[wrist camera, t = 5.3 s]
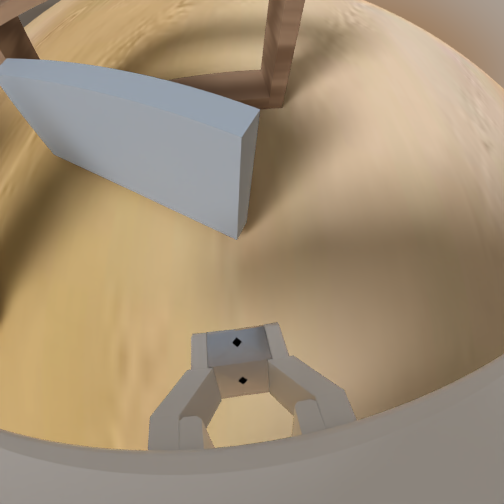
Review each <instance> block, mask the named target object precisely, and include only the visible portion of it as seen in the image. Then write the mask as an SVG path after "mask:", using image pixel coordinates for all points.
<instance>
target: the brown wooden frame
mask: <svg viewBox="0 0 504 504" xmlns="http://www.w3.org/2000/svg"><path fill="white" fill-rule="evenodd" d="M45 1H48V0H0V65H1V64H2V63H3V62H4V61H5V60H6V59H7V58H12V59H37V60H40V59H39V57H38V55H37V53H36V51H35V49H34V48H33V46H32V44H31V42H30V40H29V38H28V36H27V34H26V32H25V30H24V28H23V26H22V24H21V22H20V20H19V18H18V15H20V14H21V13H23V12H25V11H27V10H29V9H31V8H33V7H35V6H37V5H39V4H41V3H43V2H45ZM304 2H305V0H269V5H268V14H267V22H266V30H265V39H264V47H263V56H262V65H261V70H249V71H235V72H224V73H214V74H206V75H198V76H191V77H184V78H178V79H172V80H167V81H171V82H175V83H179V84H183V85H186V86H190V87H193V88H197V89H200V90H204V91H207V92H210V93H213V94H217V95H220V96H223V97H226V98H229V99H232V100H235V101H238V102H241V103H244V104H246V105H249V106H252V107H255V108H257V109H266V108H282V106H283V101H284V96H285V92H286V87H287V82H288V77H289V73H290V68H291V63H292V59H293V54H294V49H295V45H296V40H297V35H298V31H299V26H300V21H301V16H302V12H303V7H304Z"/></svg>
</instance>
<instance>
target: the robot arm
mask: <svg viewBox="0 0 504 504" xmlns="http://www.w3.org/2000/svg"><path fill="white" fill-rule="evenodd" d="M266 392H270V394H271V395H272V396H273V397H274V398H275V399H276V400H277V401H278V402H279V403H281V404H282V405H283V406H284V407H285V408H286V409H287V410H288V411H289V412H290V413H291V414H292V415H293V416H294V418H293V429H292V437H289V438H283V439H278V440H272V441H266V442H260V443H254V444H246V445H239V446H230V447H220V448H215V447H214V445H213V443H212V441H211V439H210V436H209V434H208V432H207V430H206V428H207V426H208V424H209V422H210V421H211V419H212V417H213V415H214V413H215V411H216V410H217V408H218V406H219V404H220V402H221V399H223V398H230V397H237V396H243V395H251V394H258V393H266ZM0 504H504V354H503V355H501V356H499V357H498V358H496V359H494V360H493V361H491V362H489V363H488V364H486V365H484V366H482V367H481V368H479V369H477V370H475V371H473V372H472V373H470V374H468V375H466V376H464V377H462V378H460V379H458V380H456V381H454V382H452V383H450V384H448V385H446V386H444V387H442V388H440V389H438V390H435V391H433V392H431V393H429V394H426V395H424V396H422V397H419V398H417V399H415V400H412V401H410V402H407V403H405V404H402V405H400V406H397V407H394V408H392V409H389V410H386V411H383V412H381V413H378V414H375V415H372V416H369V417H366V418H363V419H359V420H356V417H355V415H354V412H353V410H352V408H351V405H350V403H349V400H348V398H347V396H346V393H345V391H344V390H343V389H342V388H340V387H339V386H337V385H336V384H334V383H333V382H331V381H330V380H328V379H327V378H325V377H324V376H322V375H321V374H319V373H318V372H316V371H315V370H314V369H312V368H311V367H309V366H308V365H306V364H305V363H303V362H302V361H301V360H299V359H298V358H296V357H295V356H289V354H288V351H287V348H286V344H285V341H284V338H283V335H282V332H281V329H280V326H279V324H278V322H276V323H271V324H265V325H259V326H253V327H246V328H240V329H234V330H224V331H215V332H207V333H197V334H192V337H191V370H187V371H186V372H185V373H184V375H183V376H182V377H181V379H180V380H179V381H178V382H177V384H176V385H175V386H174V387H173V389H172V390H171V391H170V393H169V394H168V395H167V396H166V398H165V399H164V400H163V401H162V403H161V404H160V405H159V406H158V408H157V409H156V410H155V411H154V413H153V414H152V415H151V416H150V424H149V440H148V450H124V449H109V448H98V447H88V446H80V445H73V444H66V443H60V442H54V441H49V440H44V439H39V438H34V437H30V436H25V435H21V434H17V433H13V432H9V431H6V430H2V429H0Z"/></svg>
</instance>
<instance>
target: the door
mask: <svg viewBox="0 0 504 504" xmlns="http://www.w3.org/2000/svg"><path fill="white" fill-rule="evenodd" d="M0 86H1V87H2V89H3V90H4V91H5V93H6V94H7V95H8V97H9V98H10V100H11V101H12V102H13V104H14V105H15V106H16V108H17V109H18V110H19V111H20V113H21V114H22V115H23V117H24V118H25V119H26V121H27V122H28V123H29V124H30V126H31V127H32V128H33V129H34V131H35V132H36V133H37V134H38V136H39V137H40V138H41V139H42V141H43V142H44V143H45V144H46V145H47V147H48V148H49V149H50V150H51V151H52V153H53V154H54V155H56V156H58V157H60V158H63V159H65V160H67V161H69V162H71V163H73V164H75V165H78V166H80V167H82V168H84V169H86V170H88V171H91V172H93V173H95V174H97V175H99V176H101V177H103V178H106V179H108V180H110V181H112V182H114V183H116V184H119V185H121V186H123V187H125V188H127V189H129V190H131V191H134V192H136V193H138V194H140V195H142V196H144V197H146V198H149V199H151V200H153V201H155V202H157V203H159V204H161V205H163V206H166V207H168V208H170V209H172V210H174V211H176V212H178V213H181V214H183V215H185V216H187V217H189V218H191V219H193V220H195V221H198V222H200V223H202V224H204V225H206V226H208V227H210V228H212V229H215V230H217V231H219V232H221V233H223V234H225V235H227V236H229V237H232V238H234V239H236V240H237V239H238V237H239V235H240V233H241V232H242V230H243V228H244V226H245V224H246V222H247V215H248V206H249V198H250V189H251V181H252V172H253V164H254V156H255V148H256V140H257V131H258V123H259V115H260V109H257V108H255V107H252V106H249V105H246V104H244V103H241V102H238V101H235V100H232V99H229V98H226V97H223V96H220V95H217V94H213V93H210V92H207V91H204V90H200V89H197V88H193V87H190V86H186V85H183V84H179V83H175V82H171V81H167V80H163V79H159V78H155V77H151V76H146V75H142V74H137V73H133V72H128V71H122V70H117V69H112V68H106V67H100V66H93V65H86V64H79V63H70V62H61V61H50V60H37V59H12V58H7V59H6V60H5V61H4V62H3V63H2V64H1V65H0Z"/></svg>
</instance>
